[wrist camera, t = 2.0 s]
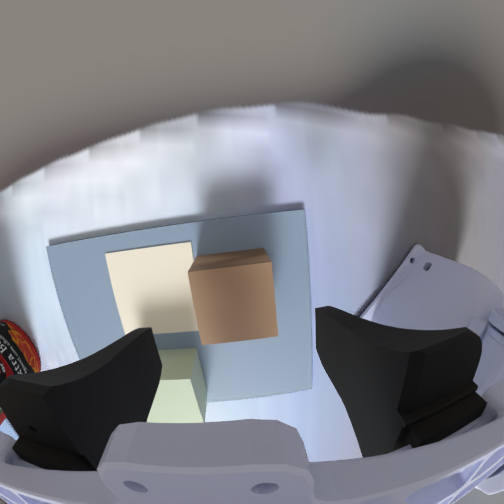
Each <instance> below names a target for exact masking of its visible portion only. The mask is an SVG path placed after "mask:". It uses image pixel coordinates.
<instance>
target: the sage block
mask: <svg viewBox="0 0 504 504" xmlns="http://www.w3.org/2000/svg"><path fill="white" fill-rule="evenodd" d="M158 352H159V356H160V359H161V362H162V371H161V377H160V383H159V386H158V389H157V392H156V395H155V398H154V401H153V404H152V407H151V410H150V413H149V416H148V419H147V422H151V423H204V422H205V414H206V403H207V393H208V391H207V387H206V384H205V380H204V376H203V372H202V368H201V364H200V360H199V356H198V351H197V348H187V349H171V350H158Z"/></svg>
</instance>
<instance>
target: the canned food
mask: <svg viewBox="0 0 504 504" xmlns="http://www.w3.org/2000/svg"><path fill="white" fill-rule="evenodd" d="M40 370H41V364H40V359H39V356H38V353H37V351H36V349H35V347H34V345H33V343H32V342H31V340H30V339H29V337H28V336H27V335H26V334H25V332H24V331H23V330H22V329H21V328H19V327H18V326H17V325H16V324H14V323H13V322H11V321H8V320H1V321H0V384H1V383H2V382H3V381H4V380H5V379H6V378H7V377H8V376H10V375H18V374H29V373H37V372H40ZM5 419H6V415H5V414H4V412H3V411H2V409H1V407H0V425H1V424H2V422H3V421H4V420H5Z"/></svg>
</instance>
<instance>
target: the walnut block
mask: <svg viewBox="0 0 504 504" xmlns="http://www.w3.org/2000/svg"><path fill="white" fill-rule="evenodd" d="M188 278H189V283H190V289H191V294H192V300H193V305H194V310H195V315H196V320H197V325H198V330H199V334H200V339H201V344H202V345H208V344H219V343H229V342H238V341H246V340H254V339H262V338H269V337H276V336H278V327H277V315H276V304H275V293H274V282H273V271H272V262H271V260H270V258H269V256H268V255H267V253H266V251H265V249H264V248H258V249H250V250H241V251H233V252H225V253H217V254H209V255H200V256H196V258H195V260H194V262H193V263H192V265H191V267H190V269H189V270H188Z"/></svg>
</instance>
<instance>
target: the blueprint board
mask: <svg viewBox="0 0 504 504" xmlns="http://www.w3.org/2000/svg"><path fill="white" fill-rule="evenodd" d="M46 248H47V253H48V258H49V263H50V268H51V272H52V276H53V280H54V284H55V288H56V292H57V295H58V299H59V302H60V306H61V309H62V312H63V315H64V318H65V321H66V324H67V327H68V330H69V333H70V336H71V339H72V341H73V344H74V347H75V349H76V352H77V354H78V357H79V359H80V360H81V359H83V358H86V357H88V356H90V355H92V354H94V353H96V352H97V351H99V350H101V349H103V348H105V347H106V346H108V345H110V344H111V343H113V342H115V341H116V340H118V339H120V338H121V337H123V336H124V335H126V334H128V333H129V332H131V331H133V330H135V329H138V328H146V327H151V328H152V331H153V335H154V339H155V342H156V346H157V349H158V350H171V349H187V348H197V351H198V356H199V360H200V364H201V368H202V372H203V376H204V380H205V384H206V387H207V391H208V393H207V402H218V401H231V400H241V399H250V398H258V397H266V396H273V395H280V394H286V393H292V392H297V391H303V390H308V389H312V339H311V306H310V283H309V265H308V250H307V236H306V224H305V212H304V209H301V210H291V211H281V212H272V213H263V214H254V215H245V216H237V217H228V218H220V219H212V220H205V221H197V222H190V223H183V224H176V225H169V226H162V227H155V228H148V229H142V230H136V231H129V232H123V233H117V234H111V235H105V236H99V237H94V238H88V239H82V240H77V241H72V242H66V243H61V244H56V245H51V246H47V247H46ZM258 248H264V249H265V251H266V253H267V255H268V256H269V258H270V260H271V262H272V271H273V282H274V293H275V304H276V315H277V327H278V336H276V337H269V338H262V339H254V340H246V341H238V342H229V343H219V344H208V345H202V344H201V339H200V334H199V330H198V325H197V320H196V315H195V310H194V305H193V300H192V294H191V289H190V283H189V278H188V270H189V269H190V267H191V265H192V263H193V262H194V260H195V258H196V256H200V255H209V254H217V253H225V252H233V251H241V250H250V249H258Z"/></svg>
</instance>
